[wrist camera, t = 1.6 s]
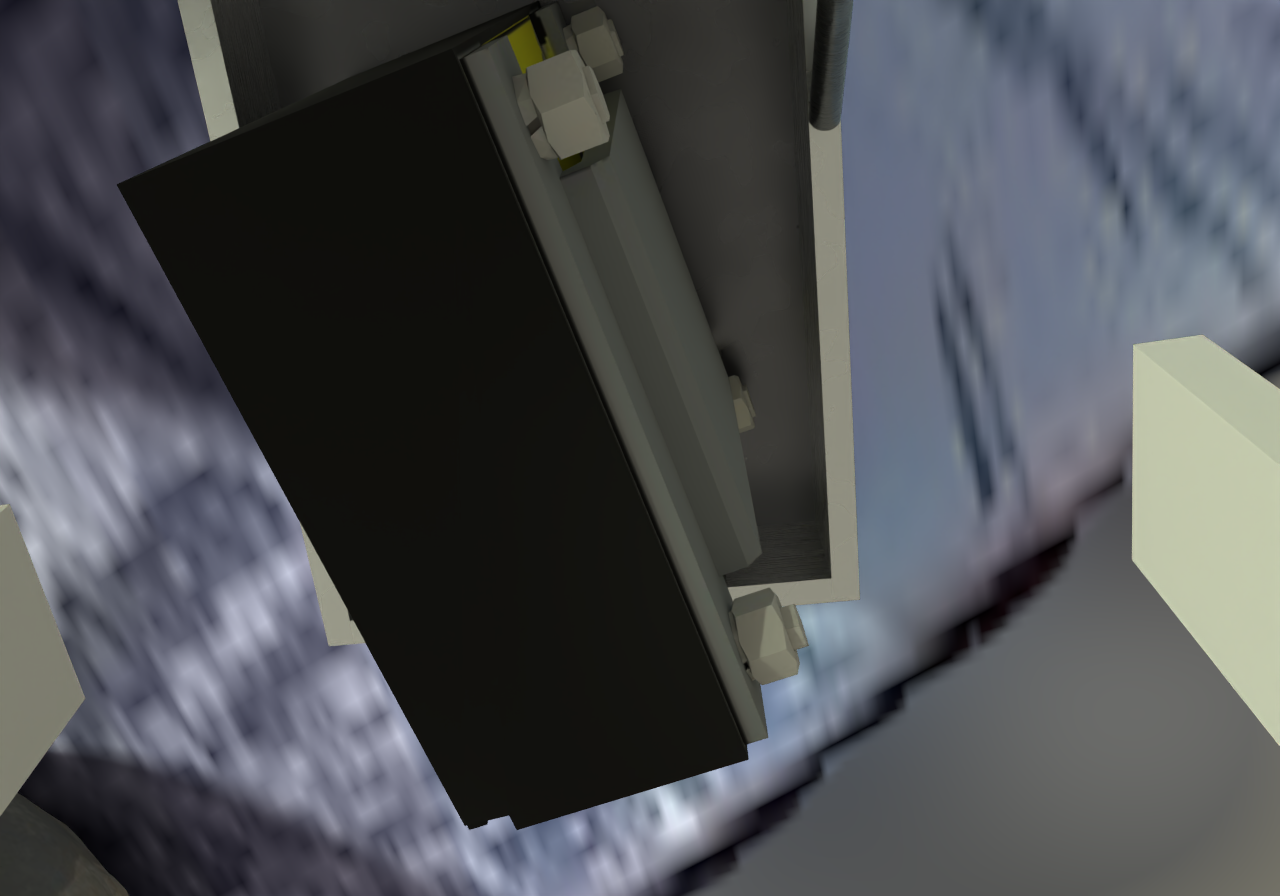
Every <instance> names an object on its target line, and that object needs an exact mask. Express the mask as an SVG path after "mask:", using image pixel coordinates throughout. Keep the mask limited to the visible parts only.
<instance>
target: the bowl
mask: <svg viewBox="0 0 1280 896" xmlns="http://www.w3.org/2000/svg"><path fill="white" fill-rule="evenodd" d="M0 896H129V895H128V893H127V891H126V889H125V888H124V887H123V886H122V885H121V884H120V883H119V882H118V881H117V880H116V879H115V878H114V877H113V876H112V875H111V874H109V873H108V872H107V871H106V870H105V868H104V867H103V866H102V865H101V863H100V862H99V861H98V860H97V859H96V858H95V856H94V855H93V854H92V853H91V852H90V851H89V849H88V848H87V847H86V846H85V844H84V843H83V842H82V840H81V839H80V838H79V837H78V836H77V835H76V834H75V833H74V832H73V831H72V830H71V829H70V828H69V827H68V826H67V825H66V824H64V823H62V822H61V821H59V820H58V819H56V818H54V817H53V816H51V815H50V814H48V813H47V812H45V811H44V810H42V809H41V808H39V807H38V806H36V805H35V804H33V803H32V802H31V801H29V800H28V799H26V798H25V797H24V796H22V795H20V794H18V793H17V794H16V795H15V797H14V798H13V799H12V801H11V802H10V803H9V805H8V806H7V808H6V809H5V810H4V812H3V813H2V815H1V816H0Z"/></svg>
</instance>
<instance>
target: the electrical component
mask: <svg viewBox="0 0 1280 896" xmlns="http://www.w3.org/2000/svg"><path fill="white" fill-rule="evenodd" d="M622 55H624V52H623V49H622V46H621V43H620V40H619V37H618V34H617V32H616V29H615V26H614V24H613V21H612V20H611V19H609V20H607V17H606V15H605V12H604V11H602V10H601V9H600V8H599V7H598V6H596V7H594V8H591V9H589V10H587V11H584V12H582V13H579V14H577V15H574V16H572V18H571V24H570V25H568V26H567V25H566V23H565V20H564V17H563V15H562V12H561V10H560V7H559V4H558V2H557V1H556V2H554V3H551V4H549V5H546V6H544V7H542V8H541V6H540V3H539V0H538V1H536V2H533V3H531V4H529V5H526V6H524V7H521V8H519V9H516V10H514V11H511V12H509V13H506V14H504V15H502V16H499V17H497V18H494V19H492V20H489V21H487V22H484V23H482V24H479V25H477V26H475V27H472V28H470V29H467V30H465V31H462V32H460V33H457V34H455V35H453V36H450V37H448V38H445V39H443V40H440V41H438V42H435V43H433V44H430V45H428V46H426V47H423V48H421V49H418V50H416V51H413V52H411V53H408V54H406V55H403V56H401V57H399V58H396V59H394V60H391V61H389V62H386V63H384V64H381V65H379V66H377V67H374V68H372V69H369V70H367V71H364V72H362V73H359V74H357V75H354V76H352V77H350V78H347V79H345V80H343V81H340V82H338V83H336V84H334V85H332V86H330V87H327V88H325V89H323V90H321V91H319V92H317V93H314V94H312V95H310V96H308V97H306V98H304V99H301V100H299V101H297V102H295V103H293V104H291V105H288V106H286V107H284V108H282V109H280V110H277V111H275V112H273V113H271V114H269V115H267V116H264V117H262V118H260V119H258V120H256V121H254V122H251V123H249V124H247V125H245V126H243V127H241V128H238V129H236V130H234V131H232V132H230V133H228V134H225V135H223V136H221V137H219V138H217V139H215V140H212V141H210V142H208V143H206V144H204V145H201V146H199V147H197V148H195V149H193V150H191V151H188V152H186V153H184V154H182V155H180V156H178V157H175V158H173V159H171V160H169V161H167V162H165V163H162V164H160V165H158V166H156V167H154V168H152V169H149V170H147V171H145V172H143V173H141V174H139V175H136V176H134V177H132V178H130V179H128V180H125V181H123V182H121V183H119V184H117V186H118V188H119V190H120V192H121V194H122V195H123V197H124V199H125V201H126V203H127V205H128V206H129V208H130V210H131V212H132V214H133V216H134V217H135V219H136V221H137V223H138V225H139V227H140V229H141V230H142V232H143V234H144V236H145V238H146V240H147V241H148V243H149V245H150V247H151V249H152V251H153V252H154V254H155V256H156V258H157V260H158V262H159V263H160V265H161V267H162V269H163V271H164V273H165V275H166V276H167V278H168V280H169V282H170V284H171V286H172V287H173V289H174V291H175V293H176V295H177V297H178V298H179V300H180V302H181V304H182V306H183V308H184V310H185V311H186V313H187V315H188V317H189V319H190V321H191V322H192V324H193V326H194V328H195V330H196V332H197V333H198V335H199V337H200V339H201V341H202V343H203V345H204V346H205V348H206V350H207V352H208V354H209V356H210V357H211V359H212V361H213V363H214V365H215V367H216V368H217V370H218V372H219V374H220V376H221V378H222V380H223V381H224V383H225V385H226V387H227V389H228V391H229V392H230V394H231V396H232V398H233V400H234V402H235V403H236V405H237V407H238V409H239V411H240V413H241V415H242V416H243V418H244V420H245V422H246V424H247V426H248V427H249V429H250V431H251V433H252V435H253V437H254V438H255V440H256V442H257V444H258V446H259V448H260V450H261V451H262V453H263V455H264V457H265V459H266V461H267V462H268V464H269V466H270V468H271V470H272V472H273V473H274V475H275V477H276V479H277V481H278V483H279V484H280V486H281V488H282V490H283V492H284V494H285V496H286V497H287V499H288V501H289V503H290V505H291V507H292V508H293V510H294V512H295V514H296V516H297V518H298V519H299V521H300V523H301V525H302V527H303V529H304V531H305V532H306V534H307V536H308V538H309V540H310V542H311V543H312V545H313V547H314V549H315V551H316V553H317V554H318V556H319V558H320V560H321V562H322V564H323V566H324V567H325V569H326V571H327V573H328V575H329V577H330V578H331V580H332V582H333V584H334V586H335V588H336V589H337V591H338V593H339V595H340V597H341V599H342V601H343V602H344V604H345V606H346V608H347V610H348V612H349V613H350V615H351V617H352V619H353V621H354V623H355V624H356V626H357V628H358V630H359V632H360V634H361V636H362V637H363V639H364V641H365V643H366V645H367V647H368V648H369V650H370V652H371V654H372V656H373V658H374V659H375V661H376V663H377V665H378V667H379V669H380V671H381V672H382V674H383V676H384V678H385V680H386V682H387V683H388V685H389V687H390V689H391V691H392V693H393V694H394V696H395V698H396V700H397V702H398V704H399V705H400V707H401V709H402V711H403V713H404V715H405V717H406V718H407V720H408V722H409V724H410V726H411V728H412V729H413V731H414V733H415V735H416V737H417V739H418V740H419V742H420V744H421V746H422V748H423V750H424V752H425V753H426V755H427V757H428V759H429V761H430V763H431V764H432V766H433V768H434V770H435V772H436V774H437V775H438V777H439V779H440V781H441V783H442V785H443V787H444V788H445V790H446V792H447V794H448V796H449V798H450V799H451V801H452V803H453V805H454V807H455V809H456V810H457V812H458V814H459V816H460V818H461V820H462V822H463V823H464V825H465V826H466V825H467V826H468V828H469V830H471V829H474V828H477V827H480V826H484V825H487V823H488V820H491V819H496V818H500V817H504V816H508V815H509V816H510V818H511V820H512V822H513V824H514V826H515V828H516V829H517V830H519V829H522V828H525V827H529V826H532V825H535V824H538V823H542V822H545V821H548V820H552V819H555V818H558V817H561V816H565V815H568V814H571V813H574V812H578V811H581V810H584V809H588V808H591V807H594V806H597V805H601V804H604V803H607V802H611V801H614V800H617V799H620V798H624V797H627V796H630V795H634V794H637V793H640V792H643V791H647V790H650V789H653V788H657V787H660V786H663V785H666V784H670V783H673V782H676V781H679V780H683V779H686V778H689V777H693V776H696V775H699V774H702V773H706V772H709V771H712V770H716V769H719V768H722V767H725V766H729V765H732V764H735V763H739V762H742V761H745V760H748V751H747V744H749V743H753V742H756V741H759V740H762V739H766V738H768V733H767V726H766V719H765V713H764V706H763V700H762V693H761V686H760V684H761V685H765V684H768V683H771V682H774V681H777V680H781V679H784V678H787V677H790V676H793V675H797V674H798V669H799V664H800V662H799V658H798V653H797V649H800V648H803V647H806V646H809V644H808V641H807V638H806V635H805V631H804V628H803V625H802V622H801V619H800V616H799V614H798V611H797V608H796V606H795V604H791V605H788V606H785V607H782V605H781V603H780V600H779V598H778V596H777V595H776V594H775V593H774V592H773V591H772V589H771V588H770V587H769V588H766V589H763V590H760V591H757V592H754V593H751V594H748V595H745V596H741V597H738V598H735V599H734V601H733V600H732V597H731V595H730V592H729V590H728V587H727V580H726V574H728V573H731V572H734V571H736V570H739V569H742V568H745V567H748V566H749V565H750V564H751V563H752V562H753V561H754V560H755V559H756V558H757V557H758V556H759V555H761V554H762V551H761V545H760V540H759V535H758V529H757V524H756V519H755V513H754V508H753V503H752V497H751V492H750V487H749V481H748V476H747V471H746V465H745V460H744V455H743V449H742V444H741V439H740V433H742V432H745V431H748V430H751V429H754V427H755V423H754V418H753V417H755V416H756V413H755V409H754V406H753V403H752V400H751V397H750V395H749V392H748V389H747V387H746V384H745V385H742V384H741V382H740V379H739V377H738V376H735V375H733V376H730V377H728V375H727V372H726V370H725V367H724V364H723V362H722V359H721V356H720V354H719V351H718V348H717V346H716V343H715V340H714V337H713V335H712V332H711V329H710V327H709V324H708V321H707V319H706V316H705V313H704V311H703V308H702V305H701V303H700V300H699V297H698V295H697V292H696V289H695V287H694V284H693V281H692V278H691V276H690V273H689V270H688V268H687V265H686V262H685V260H684V257H683V254H682V252H681V249H680V246H679V244H678V241H677V238H676V236H675V233H674V230H673V227H672V225H671V222H670V219H669V217H668V214H667V211H666V209H665V206H664V203H663V201H662V198H661V195H660V193H659V190H658V187H657V185H656V182H655V179H654V177H653V174H652V171H651V168H650V166H649V163H648V160H647V158H646V155H645V152H644V150H643V147H642V144H641V142H640V139H639V136H638V134H637V131H636V128H635V126H634V123H633V120H632V117H631V115H630V112H629V109H628V107H627V104H626V101H625V99H624V96H623V93H622V91H621V89H619V90H616V91H613V92H609V93H606V94H604V95H603V93H602V91H601V88H600V86H599V83H598V82H601V81H603V80H606V79H608V78H611V77H613V76H616V75H619V74H621V73H623V61H622V58H621V56H622Z"/></svg>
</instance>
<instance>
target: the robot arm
mask: <svg viewBox="0 0 1280 896" xmlns="http://www.w3.org/2000/svg"><path fill="white" fill-rule="evenodd" d="M1132 560H1133V562H1134V563H1135V564H1136V566H1137V567H1138V568H1139V569H1140V571H1141V572H1142V573H1143V574H1144V576H1145V577H1146V578H1147V579H1148V580H1149V582H1150V583H1151V584H1152V586H1153V587H1154V588H1155V589H1156V591H1157V592H1158V593H1159V595H1160V596H1161V597H1162V598H1163V600H1164V601H1165V602H1166V603H1167V605H1168V606H1169V607H1170V608H1171V610H1172V611H1173V612H1174V613H1175V615H1176V616H1177V617H1178V618H1179V620H1180V621H1181V622H1182V624H1183V625H1184V626H1185V627H1186V629H1187V630H1188V631H1189V632H1190V634H1191V635H1192V636H1193V637H1194V639H1195V640H1196V641H1197V642H1198V644H1199V645H1200V646H1201V647H1202V649H1203V650H1204V651H1205V653H1206V654H1207V655H1208V656H1209V658H1210V659H1211V660H1212V661H1213V663H1214V664H1215V665H1216V666H1217V668H1218V669H1219V670H1220V672H1221V673H1222V674H1223V675H1224V677H1225V678H1226V679H1227V680H1228V682H1229V683H1230V684H1231V685H1232V687H1233V688H1234V689H1235V690H1236V692H1237V693H1238V694H1239V696H1240V697H1241V698H1242V699H1243V701H1244V702H1245V703H1246V704H1247V706H1248V707H1249V708H1250V709H1251V711H1252V712H1253V713H1254V715H1255V716H1256V717H1257V718H1258V720H1259V721H1260V722H1261V723H1262V725H1263V726H1264V727H1265V728H1266V730H1267V731H1268V732H1269V733H1270V735H1271V736H1272V737H1273V738H1274V740H1275V741H1276V742H1277V744H1278V745H1279V746H1280V389H1279V388H1277V387H1276V386H1275V385H1273V384H1272V383H1270V382H1269V381H1267V380H1266V379H1265V378H1263V377H1262V376H1260V375H1259V374H1258V373H1256V372H1255V371H1253V370H1252V369H1250V368H1249V367H1248V366H1246V365H1245V364H1243V363H1242V362H1241V361H1239V360H1238V359H1236V358H1235V357H1234V356H1232V355H1231V354H1229V353H1228V352H1226V351H1225V350H1224V349H1222V348H1221V347H1219V346H1218V345H1217V344H1215V343H1214V342H1212V341H1211V340H1209V339H1208V338H1207V337H1205V336H1204V335H1196V336H1189V337H1182V338H1175V339H1168V340H1161V341H1154V342H1147V343H1140V344H1133V479H1132ZM84 699H85V696H84V694H83V691H82V689H81V686H80V684H79V681H78V678H77V676H76V673H75V671H74V668H73V666H72V663H71V660H70V658H69V655H68V653H67V650H66V648H65V645H64V643H63V640H62V637H61V635H60V632H59V630H58V627H57V625H56V622H55V619H54V617H53V614H52V612H51V609H50V607H49V604H48V601H47V599H46V596H45V594H44V591H43V589H42V586H41V583H40V581H39V578H38V576H37V573H36V571H35V568H34V566H33V563H32V560H31V558H30V555H29V553H28V550H27V548H26V545H25V542H24V540H23V537H22V535H21V532H20V530H19V527H18V524H17V522H16V519H15V517H14V514H13V512H12V509H11V506H10V504H7V505H0V816H1V815H2V813H3V812H4V810H5V809H6V808H7V806H8V805H9V803H10V802H11V801H12V799H13V798H14V797H15V795H16V794H17V792H18V791H19V790H20V788H21V787H22V785H23V784H24V783H25V781H26V780H27V779H28V777H29V776H30V774H31V773H32V772H33V770H34V769H35V767H36V766H37V765H38V763H39V762H40V760H41V759H42V758H43V756H44V755H45V754H46V752H47V751H48V749H49V748H50V747H51V745H52V744H53V742H54V741H55V740H56V738H57V737H58V736H59V734H60V733H61V731H62V730H63V729H64V727H65V726H66V724H67V723H68V722H69V720H70V719H71V718H72V716H73V715H74V713H75V712H76V711H77V709H78V708H79V706H80V705H81V704H82V702H83V701H84Z"/></svg>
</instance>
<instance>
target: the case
mask: <svg viewBox="0 0 1280 896" xmlns="http://www.w3.org/2000/svg"><path fill="white" fill-rule="evenodd" d="M536 1H538V0H178V5H179V9H180V13H181V18H182V22H183V26H184V30H185V35H186V39H187V43H188V47H189V52H190V56H191V60H192V64H193V69H194V73H195V77H196V81H197V86H198V90H199V94H200V99H201V103H202V107H203V111H204V116H205V120H206V124H207V128H208V133H209V137H210V141H212V140H215V139H217V138H219V137H221V136H223V135H225V134H228V133H230V132H232V131H234V130H236V129H238V128H241V127H243V126H245V125H247V124H249V123H251V122H254V121H256V120H258V119H260V118H262V117H264V116H267V115H269V114H271V113H273V112H275V111H277V110H280V109H282V108H284V107H286V106H288V105H291V104H293V103H295V102H297V101H299V100H301V99H304V98H306V97H308V96H310V95H312V94H314V93H317V92H319V91H321V90H323V89H325V88H327V87H330V86H332V85H334V84H336V83H338V82H340V81H343V80H345V79H347V78H350V77H352V76H354V75H357V74H359V73H362V72H364V71H367V70H369V69H372V68H374V67H377V66H379V65H381V64H384V63H386V62H389V61H391V60H394V59H396V58H399V57H401V56H403V55H406V54H408V53H411V52H413V51H416V50H418V49H421V48H423V47H426V46H428V45H430V44H433V43H435V42H438V41H440V40H443V39H445V38H448V37H450V36H453V35H455V34H457V33H460V32H462V31H465V30H467V29H470V28H472V27H475V26H477V25H479V24H482V23H484V22H487V21H489V20H492V19H494V18H497V17H499V16H502V15H504V14H506V13H509V12H511V11H514V10H516V9H519V8H521V7H524V6H526V5H529V4H531V3H533V2H536ZM556 1H557V2H558V4H559V7H560V10H561V12H562V15H563V17H564V20H565V23H566V25H567V26H568V25H570V24H571V18H572V16H574V15H577V14H579V13H582V12H584V11H587V10H589V9H591V8H594V7H596V6H598V7H599V8H600V9H601V10H602V11H604V12H605V15H606V17H607V20H609V19H611V20H612V21H613V24H614V26H615V29H616V32H617V34H618V37H619V40H620V43H621V46H622V49H623V52H624V55H622V56H621V58H622V61H623V73H621V74H619V75H616V76H613V77H611V78H608V79H606V80H603V81H601V82H598V83H599V86H600V88H601V91H602V93H603V95H604V94H606V93H609V92H613V91H616V90H619V89H621V91H622V93H623V96H624V99H625V101H626V104H627V107H628V109H629V112H630V115H631V117H632V120H633V123H634V126H635V128H636V131H637V134H638V136H639V139H640V142H641V144H642V147H643V150H644V152H645V155H646V158H647V160H648V163H649V166H650V168H651V171H652V174H653V177H654V179H655V182H656V185H657V187H658V190H659V193H660V195H661V198H662V201H663V203H664V206H665V209H666V211H667V214H668V217H669V219H670V222H671V225H672V227H673V230H674V233H675V236H676V238H677V241H678V244H679V246H680V249H681V252H682V254H683V257H684V260H685V262H686V265H687V268H688V270H689V273H690V276H691V278H692V281H693V284H694V287H695V289H696V292H697V295H698V297H699V300H700V303H701V305H702V308H703V311H704V313H705V316H706V319H707V321H708V324H709V327H710V329H711V332H712V335H713V337H714V340H715V343H716V346H717V348H718V351H719V354H720V356H721V359H722V362H723V364H724V367H725V370H726V372H727V375H728V377H730V376H733V375H735V376H738V377H739V379H740V382H741V384H742V385H745V384H746V387H747V389H748V392H749V395H750V397H751V400H752V403H753V406H754V409H755V413H756V416H755V417H753V418H754V423H755V427H754V429H751V430H748V431H745V432H742V433H740V439H741V444H742V449H743V455H744V460H745V465H746V471H747V476H748V481H749V487H750V492H751V497H752V503H753V508H754V513H755V519H756V524H757V529H758V535H759V540H760V545H761V551H762V554H761V555H759V556H758V557H757V558H756V559H755V560H754V561H753V562H752V563H751V564H750V565H749V566H748V567H745V568H742V569H739V570H736V571H734V572H731V573H728V574H726V580H727V587H728V590H729V592H730V595H731V597H732V600H733V601H734V599H735V598H738V597H741V596H745V595H748V594H751V593H754V592H757V591H760V590H763V589H766V588H769V587H770V588H771V589H772V591H773V592H774V593H775V594H776V595H777V596H778V598H779V600H780V603H781V605H782V606H788V605H791V604H795V605H805V604H816V603H827V602H839V601H850V600H860V591H859V566H858V541H857V516H856V491H855V466H854V441H853V417H852V392H851V367H850V342H849V317H848V292H847V267H846V242H845V217H844V192H843V167H842V142H841V110H842V101H843V92H844V83H845V73H846V64H847V55H848V46H849V36H850V27H851V18H852V9H853V0H539V3H540V6H541V8H542V7H544V6H546V5H549V4H551V3H554V2H556ZM300 525H301V523H300ZM301 529H302V533H303V538H304V542H305V546H306V550H307V555H308V559H309V563H310V568H311V572H312V576H313V580H314V585H315V589H316V593H317V597H318V602H319V606H320V610H321V614H322V619H323V623H324V627H325V631H326V636H327V640H328V644H329V646H336V645H348V644H359V643H365V641H364V639H363V637H362V636H361V634H360V632H359V630H358V628H357V626H356V624H355V623H354V621H353V619H352V617H351V615H350V613H349V612H348V610H347V608H346V606H345V604H344V602H343V601H342V599H341V597H340V595H339V593H338V591H337V589H336V588H335V586H334V584H333V582H332V580H331V578H330V577H329V575H328V573H327V571H326V569H325V567H324V566H323V564H322V562H321V560H320V558H319V556H318V554H317V553H316V551H315V549H314V547H313V545H312V543H311V542H310V540H309V538H308V536H307V534H306V532H305V531H304V529H303V527H302V525H301Z"/></svg>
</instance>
